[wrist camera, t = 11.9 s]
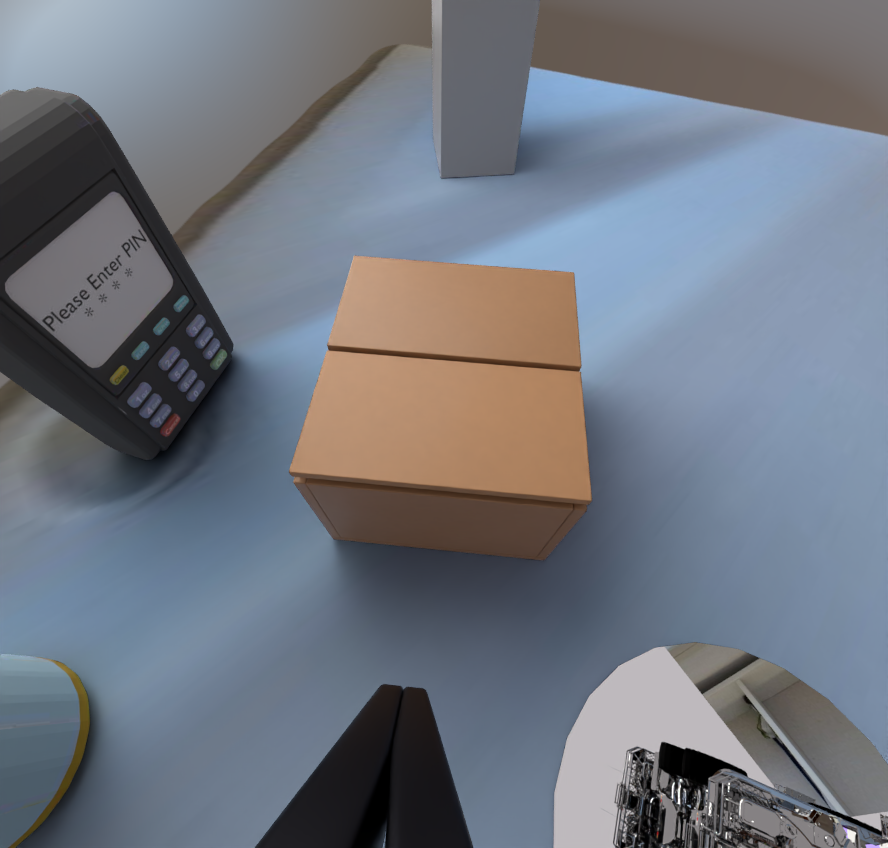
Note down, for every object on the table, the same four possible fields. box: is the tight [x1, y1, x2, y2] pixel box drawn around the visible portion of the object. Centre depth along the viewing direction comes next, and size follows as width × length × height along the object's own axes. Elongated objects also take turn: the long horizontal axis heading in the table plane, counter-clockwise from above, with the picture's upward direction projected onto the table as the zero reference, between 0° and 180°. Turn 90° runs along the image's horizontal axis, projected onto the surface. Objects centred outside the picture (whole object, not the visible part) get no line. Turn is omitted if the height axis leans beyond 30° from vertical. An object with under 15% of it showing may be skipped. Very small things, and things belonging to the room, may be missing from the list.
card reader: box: [0, 87, 233, 460], centre depth 21 cm, size 9×4×15 cm, turn 163°
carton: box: [293, 256, 587, 560], centre depth 22 cm, size 12×11×8 cm
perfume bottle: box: [432, 0, 540, 178], centre depth 34 cm, size 7×7×18 cm
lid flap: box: [289, 351, 592, 505], centre depth 17 cm, size 6×11×1 cm, turn 84°
